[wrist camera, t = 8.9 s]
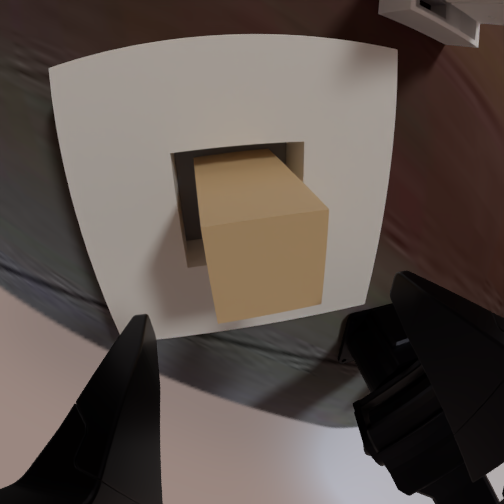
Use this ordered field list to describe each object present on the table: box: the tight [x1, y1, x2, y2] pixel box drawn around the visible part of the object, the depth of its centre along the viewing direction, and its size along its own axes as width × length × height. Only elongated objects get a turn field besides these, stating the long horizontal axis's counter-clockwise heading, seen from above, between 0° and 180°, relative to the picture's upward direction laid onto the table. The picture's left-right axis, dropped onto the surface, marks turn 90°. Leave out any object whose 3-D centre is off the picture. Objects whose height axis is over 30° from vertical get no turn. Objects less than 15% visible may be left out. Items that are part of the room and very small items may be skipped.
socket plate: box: [49, 34, 398, 340], centre depth 16 cm, size 16×16×3 cm
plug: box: [193, 148, 329, 324], centre depth 14 cm, size 4×4×8 cm
